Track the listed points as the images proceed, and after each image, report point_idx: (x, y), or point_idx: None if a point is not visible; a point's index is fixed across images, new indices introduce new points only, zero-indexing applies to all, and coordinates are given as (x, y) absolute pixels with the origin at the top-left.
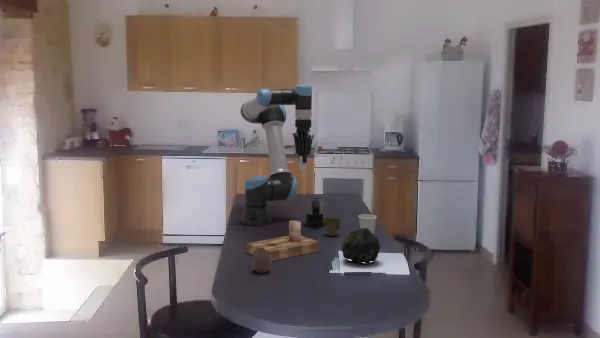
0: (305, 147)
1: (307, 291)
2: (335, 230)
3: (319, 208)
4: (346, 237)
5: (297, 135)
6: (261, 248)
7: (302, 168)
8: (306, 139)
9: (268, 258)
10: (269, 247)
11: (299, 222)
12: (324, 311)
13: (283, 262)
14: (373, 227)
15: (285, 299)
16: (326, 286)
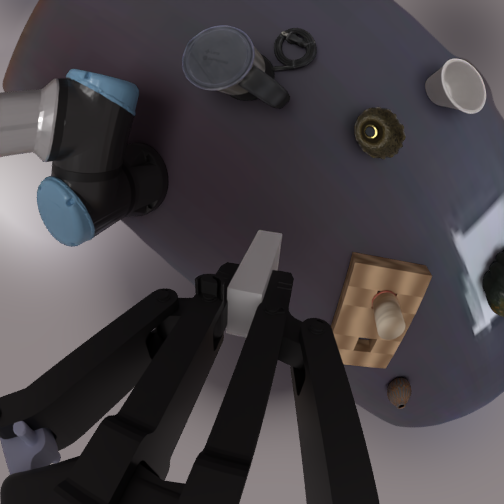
0: (299, 426)
1: (466, 382)
2: (391, 139)
3: (287, 92)
4: (502, 310)
5: (53, 456)
6: (399, 405)
7: (276, 268)
8: (225, 489)
9: (410, 395)
10: (371, 356)
11: (403, 326)
12: (486, 393)
13: (404, 347)
14: (468, 92)
15: (453, 401)
16: (480, 364)
